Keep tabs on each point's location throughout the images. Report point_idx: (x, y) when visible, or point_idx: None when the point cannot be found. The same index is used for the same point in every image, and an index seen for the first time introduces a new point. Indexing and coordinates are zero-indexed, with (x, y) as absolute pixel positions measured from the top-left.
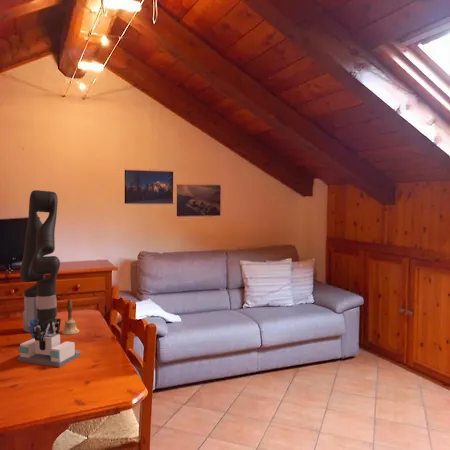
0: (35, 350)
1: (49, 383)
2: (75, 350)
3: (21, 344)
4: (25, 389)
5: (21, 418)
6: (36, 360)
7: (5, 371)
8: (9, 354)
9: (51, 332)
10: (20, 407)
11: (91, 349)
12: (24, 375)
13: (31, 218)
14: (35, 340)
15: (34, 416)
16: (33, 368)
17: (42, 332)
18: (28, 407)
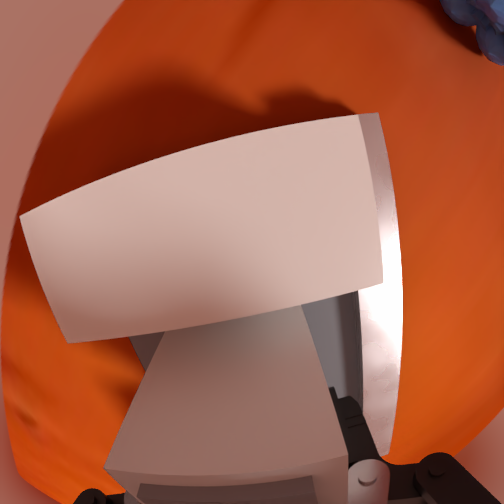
0: (164, 339)
1: (117, 486)
2: (378, 448)
3: (26, 238)
4: (51, 455)
5: (40, 487)
6: (145, 370)
7: (6, 289)
8: (149, 7)
9: (376, 502)
10: (38, 476)
11: (468, 388)
12: (60, 401)
13: None
14: (129, 422)
15: (58, 499)
16: (112, 385)
17: (279, 498)
18: (51, 486)
